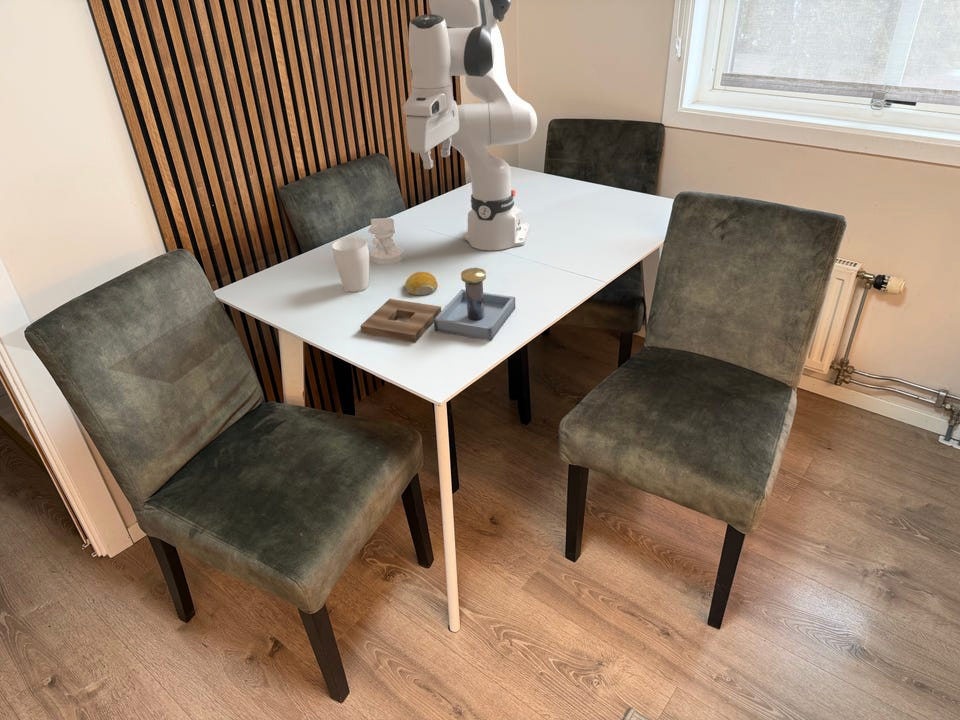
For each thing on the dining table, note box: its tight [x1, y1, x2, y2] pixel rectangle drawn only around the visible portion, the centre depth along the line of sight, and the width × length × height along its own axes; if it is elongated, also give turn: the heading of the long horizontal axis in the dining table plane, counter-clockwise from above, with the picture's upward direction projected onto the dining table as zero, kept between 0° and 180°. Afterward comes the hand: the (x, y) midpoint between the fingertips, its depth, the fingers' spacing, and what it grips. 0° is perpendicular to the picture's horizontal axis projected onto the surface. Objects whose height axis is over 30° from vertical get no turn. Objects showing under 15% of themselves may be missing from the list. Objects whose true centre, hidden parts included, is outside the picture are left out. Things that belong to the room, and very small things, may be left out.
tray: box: [433, 289, 516, 341], centre depth 157 cm, size 16×14×3 cm
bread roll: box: [404, 271, 439, 296], centre depth 172 cm, size 8×9×4 cm
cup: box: [331, 236, 370, 293], centre depth 172 cm, size 9×9×12 cm
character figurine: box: [367, 217, 404, 266], centre depth 187 cm, size 9×10×12 cm
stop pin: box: [460, 267, 487, 321], centre depth 154 cm, size 6×6×11 cm
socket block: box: [360, 298, 442, 343], centre depth 157 cm, size 14×14×2 cm
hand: (437, 162), depth 153 cm, fingers open, 8 cm apart
